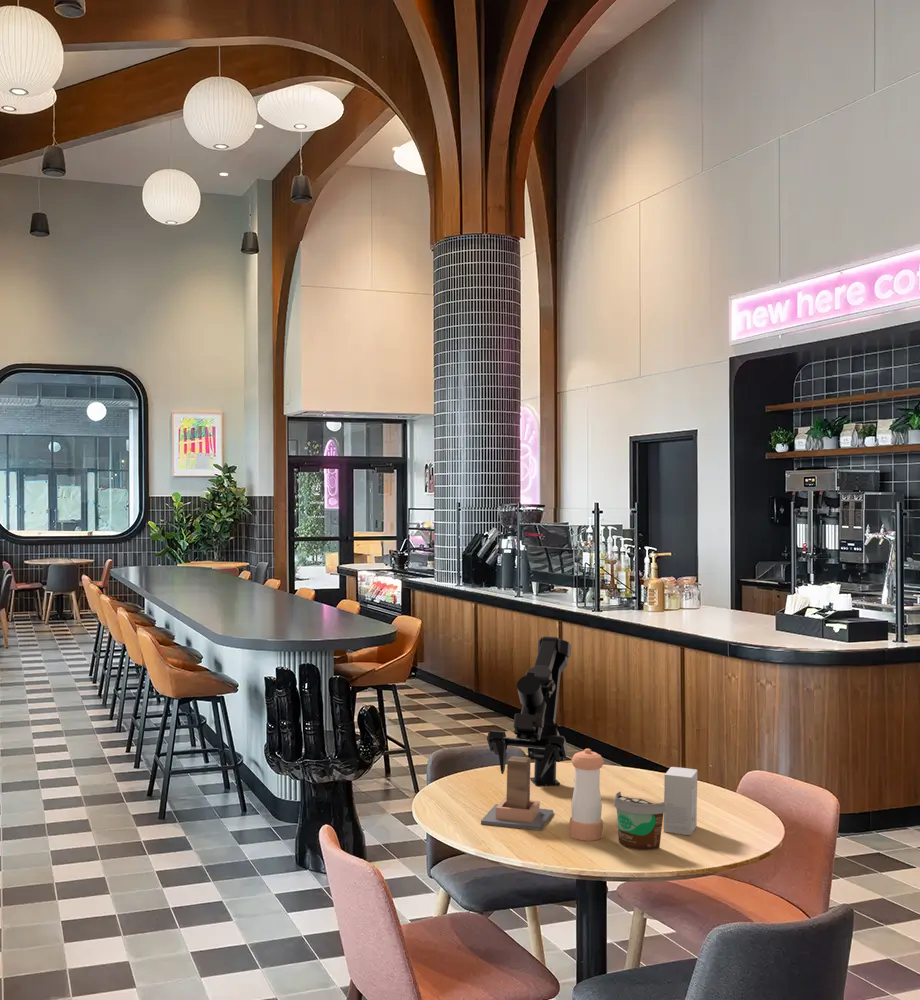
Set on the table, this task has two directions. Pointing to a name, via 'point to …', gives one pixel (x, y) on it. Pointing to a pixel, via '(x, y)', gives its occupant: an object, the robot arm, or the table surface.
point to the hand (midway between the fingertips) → (521, 774)
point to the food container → (639, 822)
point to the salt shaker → (586, 797)
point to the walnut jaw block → (518, 782)
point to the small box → (680, 800)
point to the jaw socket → (518, 816)
